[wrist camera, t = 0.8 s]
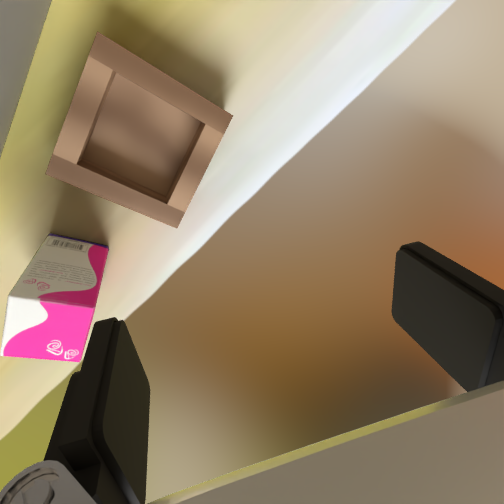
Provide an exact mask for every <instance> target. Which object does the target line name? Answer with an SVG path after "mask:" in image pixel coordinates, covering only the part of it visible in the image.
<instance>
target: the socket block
mask: <svg viewBox="0 0 504 504" xmlns="http://www.w3.org/2000/svg"><path fill="white" fill-rule="evenodd" d="M232 117H233V115H231V114H230V113H228V112H226V111H225V110H223V109H222V108H220V107H218V106H217V105H215V104H214V103H212V102H210V101H209V100H207V99H205V98H204V97H202V96H201V95H199V94H197V93H196V92H194V91H193V90H191V89H189V88H188V87H186V86H185V85H183V84H181V83H180V82H178V81H176V80H175V79H173V78H172V77H170V76H168V75H167V74H165V73H164V72H162V71H160V70H159V69H157V68H156V67H154V66H152V65H151V64H149V63H147V62H146V61H144V60H143V59H141V58H139V57H138V56H136V55H135V54H133V53H131V52H130V51H128V50H127V49H125V48H123V47H122V46H120V45H118V44H117V43H115V42H114V41H112V40H110V39H109V38H107V37H106V36H104V35H102V34H101V33H99V32H98V31H97V34H96V37H95V40H94V42H93V45H92V48H91V50H90V53H89V56H88V59H87V61H86V64H85V67H84V70H83V72H82V75H81V78H80V80H79V83H78V86H77V89H76V91H75V94H74V97H73V99H72V102H71V105H70V108H69V110H68V113H67V116H66V119H65V121H64V124H63V127H62V129H61V132H60V135H59V138H58V140H57V143H56V146H55V148H54V151H53V154H52V157H51V159H50V162H49V165H48V168H47V170H46V173H45V174H46V175H49V176H51V177H54V178H56V179H58V180H61V181H63V182H66V183H68V184H71V185H73V186H75V187H78V188H80V189H83V190H85V191H87V192H90V193H92V194H95V195H97V196H100V197H102V198H104V199H107V200H109V201H112V202H114V203H117V204H119V205H121V206H124V207H126V208H129V209H131V210H133V211H136V212H138V213H141V214H143V215H146V216H148V217H150V218H153V219H155V220H158V221H160V222H163V223H165V224H167V225H170V226H172V227H175V228H178V226H179V224H180V222H181V220H182V218H183V216H184V214H185V212H186V209H187V207H188V205H189V203H190V201H191V199H192V197H193V195H194V193H195V191H196V189H197V187H198V185H199V183H200V181H201V179H202V177H203V175H204V173H205V171H206V169H207V167H208V165H209V163H210V161H211V159H212V157H213V155H214V153H215V151H216V149H217V147H218V145H219V143H220V141H221V139H222V137H223V135H224V133H225V131H226V129H227V127H228V125H229V123H230V121H231V119H232Z"/></svg>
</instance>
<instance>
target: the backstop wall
mask: <svg viewBox="0 0 504 504" xmlns="http://www.w3.org/2000/svg"><path fill="white" fill-rule="evenodd" d="M51 1H52V0H0V157H1V154H2V151H3V148H4V145H5V142H6V139H7V135H8V132H9V129H10V126H11V123H12V120H13V117H14V114H15V111H16V108H17V105H18V102H19V99H20V96H21V93H22V90H23V86H24V83H25V80H26V77H27V74H28V71H29V68H30V65H31V62H32V59H33V56H34V53H35V50H36V47H37V44H38V40H39V37H40V34H41V31H42V28H43V25H44V22H45V19H46V16H47V13H48V10H49V7H50V4H51Z"/></svg>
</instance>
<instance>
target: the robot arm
mask: <svg viewBox="0 0 504 504" xmlns="http://www.w3.org/2000/svg"><path fill="white" fill-rule="evenodd" d="M392 316H393V318H394V320H395V321H396V322H397V323H398V324H399V325H400V326H401V327H402V328H403V329H404V330H405V331H406V332H407V333H408V334H409V335H410V336H411V337H412V338H413V339H414V340H415V341H416V342H417V343H418V344H419V345H420V346H421V347H422V348H423V349H424V350H425V351H426V352H427V353H428V354H429V355H430V356H431V357H432V358H433V359H434V360H435V361H436V362H437V363H438V364H439V365H440V366H441V367H442V368H443V369H444V370H445V371H446V372H447V373H448V374H449V375H450V376H451V377H453V378H454V379H455V380H456V381H457V382H458V383H459V384H460V385H461V386H462V387H463V388H464V389H465V390H466V391H467V393H464V394H461V395H458V396H455V397H452V398H449V399H446V400H443V401H440V402H437V403H434V404H431V405H428V406H425V407H422V408H418V409H416V410H413V411H410V412H407V413H404V414H401V415H398V416H395V417H392V418H389V419H386V420H383V421H380V422H377V423H374V424H371V425H368V426H365V427H362V428H359V429H356V430H353V431H350V432H347V433H344V434H341V435H338V436H335V437H332V438H330V439H327V440H323V441H321V442H318V443H315V444H312V445H309V446H306V447H303V448H300V449H297V450H294V451H291V452H288V453H286V454H283V455H280V456H277V457H274V458H271V459H269V460H265V461H262V462H260V463H256V464H254V465H251V466H248V467H245V468H242V469H239V470H236V471H233V472H230V473H228V474H225V475H222V476H219V477H217V478H214V479H211V480H208V481H205V482H203V483H200V484H197V485H194V486H192V487H189V488H186V489H183V490H181V491H178V492H175V493H172V494H170V495H167V496H165V497H163V498H160V499H157V500H155V501H153V502H150V503H148V504H504V290H503V289H501V288H499V287H497V286H496V285H494V284H492V283H490V282H489V281H487V280H485V279H484V278H482V277H480V276H478V275H477V274H475V273H473V272H472V271H470V270H468V269H466V268H465V267H463V266H461V265H459V264H458V263H456V262H454V261H453V260H451V259H449V258H447V257H445V256H444V255H442V254H440V253H439V252H437V251H435V250H434V249H432V248H430V247H428V246H427V245H425V244H423V243H421V242H413V243H409V244H405V245H402V246H401V248H400V250H399V251H398V252H397V253H396V262H395V275H394V288H393V301H392ZM149 406H150V386H149V382H148V379H147V376H146V374H145V371H144V369H143V366H142V364H141V362H140V359H139V356H138V354H137V351H136V349H135V346H134V344H133V342H132V339H131V336H130V334H129V332H128V329H127V326H126V324H125V322H124V321H123V320H121V321H118V320H117V319H116V318H115V317H113V318H109V319H105V320H101V321H97V322H95V324H94V327H93V330H92V333H91V337H90V340H89V343H88V347H87V350H86V353H85V357H84V360H83V363H82V367H81V370H80V371H78V372H75V373H74V374H73V375H72V376H71V378H70V381H69V384H68V387H67V390H66V393H65V396H64V400H63V402H62V406H61V409H60V412H59V415H58V418H57V421H56V424H55V427H54V430H53V433H52V436H51V440H50V443H49V446H48V449H47V452H46V455H45V458H44V461H42V462H38V463H36V464H34V465H32V466H30V467H27V468H26V469H24V470H23V471H22V472H20V473H19V474H17V475H16V476H15V477H14V478H13V479H12V480H11V481H10V482H9V483H8V484H7V485H6V486H5V487H4V488H3V489H2V491H1V492H0V504H145V497H146V475H147V452H148V429H149Z"/></svg>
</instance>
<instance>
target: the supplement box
mask: <svg viewBox="0 0 504 504" xmlns="http://www.w3.org/2000/svg"><path fill="white" fill-rule="evenodd" d="M108 251H109V247H108V246H105V245H101V244H97V243H92V242H88V241H83V240H79V239H74V238H69V237H65V236H60V235H56V234H51V233H49V235H48V236H47V238H46V239H45V241H44V242H43V244H42V245H41V246H40V248H39V249H38V251H37V252H36V254H35V256H34V257H33V259H32V260H31V262H30V263H29V265H28V266H27V268H26V269H25V271H24V272H23V274H22V275H21V277H20V278H19V280H18V281H17V283H16V284H15V286H14V287H13V289H12V290H11V292H10V293H9V295H8V300H7V307H6V315H5V323H4V330H3V338H2V345H1V352H0V356H11V357H23V358H36V359H49V360H60V361H72V362H80V360H81V358H82V354H83V350H84V347H85V343H86V340H87V336H88V333H89V329H90V325H91V322H92V318H93V315H94V311H95V307H96V303H97V298H98V294H99V289H100V285H101V281H102V276H103V272H104V267H105V263H106V259H107V255H108Z"/></svg>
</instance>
